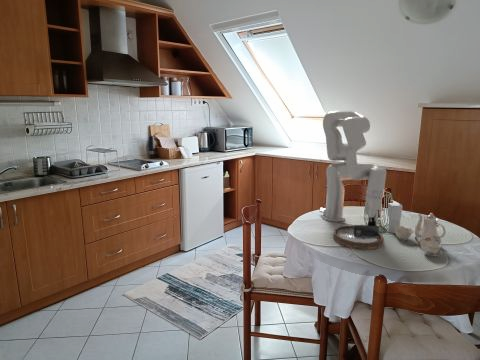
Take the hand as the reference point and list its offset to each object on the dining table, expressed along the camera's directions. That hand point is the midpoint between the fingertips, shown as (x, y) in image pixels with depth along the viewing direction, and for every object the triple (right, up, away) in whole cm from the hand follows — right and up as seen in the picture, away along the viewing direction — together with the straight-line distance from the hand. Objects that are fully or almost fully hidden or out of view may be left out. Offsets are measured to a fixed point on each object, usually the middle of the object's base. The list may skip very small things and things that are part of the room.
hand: (371, 229), depth 175 cm
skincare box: (+14, -2, +12) cm, 19 cm away
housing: (-7, -5, -2) cm, 9 cm away
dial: (-7, -4, -2) cm, 9 cm away
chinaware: (+21, -7, -8) cm, 23 cm away
